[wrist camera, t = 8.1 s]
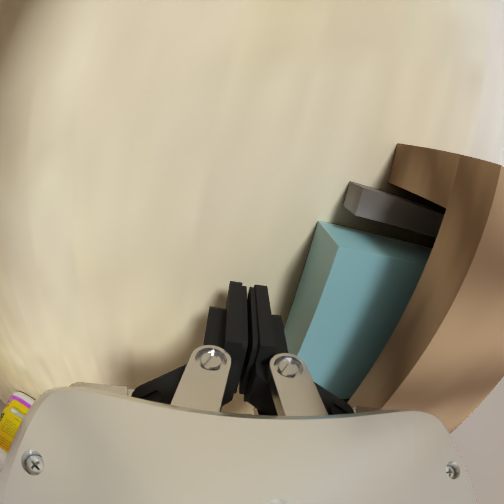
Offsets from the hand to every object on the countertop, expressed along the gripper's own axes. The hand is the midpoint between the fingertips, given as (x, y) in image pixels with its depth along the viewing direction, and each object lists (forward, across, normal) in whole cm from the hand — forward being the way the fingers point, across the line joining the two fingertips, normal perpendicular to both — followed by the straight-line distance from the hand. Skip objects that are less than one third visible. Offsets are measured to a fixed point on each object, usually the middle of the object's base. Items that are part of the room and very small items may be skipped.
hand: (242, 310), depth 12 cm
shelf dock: (+2, -11, 0) cm, 11 cm away
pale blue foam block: (+2, -9, 0) cm, 9 cm away
